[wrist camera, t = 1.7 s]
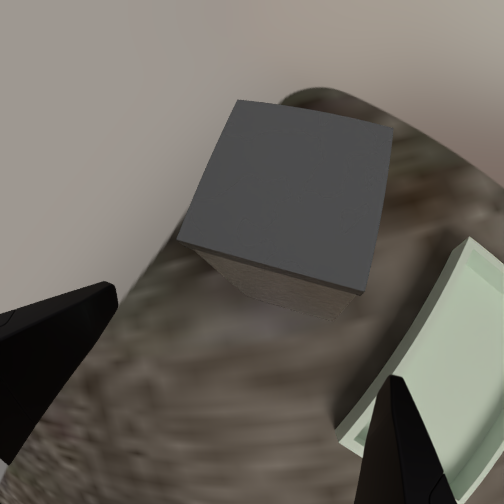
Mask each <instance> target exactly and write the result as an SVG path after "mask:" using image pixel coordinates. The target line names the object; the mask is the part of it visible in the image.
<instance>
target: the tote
mask: <svg viewBox="0 0 504 504" xmlns="http://www.w3.org/2000/svg"><path fill="white" fill-rule="evenodd" d="M390 374H392V375H397V376H401V377H403V379H404V381H405V383H406V385H407V387H408V389H409V391H410V393H411V395H412V398H413V400H414V402H415V404H416V406H417V409H418V411H419V413H420V415H421V417H422V420H423V422H424V424H425V427H426V429H427V431H428V434H429V436H430V438H431V441H432V443H433V445H434V448H435V450H436V453H437V455H438V458H439V460H440V463H441V465H442V468H443V470H444V473H443V474H445V475H446V478H447V480H448V483H449V485H450V488H451V490H452V493H453V495H454V498H455V500H456V502H457V504H464V503H465V502H466V500H467V499H468V498H469V497H470V496H471V494H472V493H473V492H474V491H475V489H476V488H477V487H478V486H479V484H480V483H481V482H482V480H483V479H484V478H485V476H486V475H487V474H488V472H489V471H490V470H491V468H492V467H493V465H494V464H495V462H496V461H497V460H498V458H499V457H500V455H501V454H502V452H503V451H504V264H503V263H502V262H500V261H499V260H498V259H497V258H496V257H495V256H493V255H492V254H491V253H490V252H488V251H487V250H486V249H485V248H484V247H482V246H481V245H480V244H479V243H477V242H476V241H475V240H473V239H472V238H471V237H470V236H469V237H468V238H467V239H466V240H464V241H463V242H462V243H461V244H460V245H458V246H457V247H456V248H455V249H453V250H452V252H451V254H450V256H449V258H448V260H447V262H446V264H445V266H444V268H443V270H442V272H441V274H440V276H439V278H438V280H437V281H436V283H435V285H434V287H433V289H432V291H431V292H430V294H429V296H428V298H427V299H426V301H425V303H424V305H423V306H422V308H421V310H420V312H419V313H418V315H417V317H416V318H415V320H414V322H413V323H412V325H411V326H410V328H409V330H408V331H407V333H406V334H405V336H404V337H403V339H402V341H401V342H400V344H399V345H398V347H397V348H396V350H395V351H394V353H393V354H392V356H391V357H390V359H389V360H388V362H387V363H386V364H385V366H384V367H383V369H382V370H381V372H380V373H379V374H378V376H377V377H376V378H375V380H374V381H373V383H372V384H371V385H370V387H369V388H368V389H367V391H366V392H365V393H364V395H363V396H362V397H361V398H360V400H359V401H358V402H357V404H356V405H355V406H354V407H353V409H352V410H351V411H350V412H349V414H348V415H347V416H346V417H345V418H344V420H343V421H342V422H341V423H340V424H339V426H338V427H337V428H336V429H335V433H336V436H337V439H338V442H339V443H340V444H342V445H343V446H345V447H346V448H348V449H349V450H351V451H353V452H354V453H356V454H357V455H359V456H360V457H362V458H363V452H364V446H365V441H366V437H367V433H368V429H369V425H370V422H371V417H372V413H373V409H374V405H375V400H376V396H377V394H378V391H379V390H380V388H381V386H382V385H383V383H384V382H385V380H386V378H387V377H388V376H389V375H390Z"/></svg>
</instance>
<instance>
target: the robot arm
mask: <svg viewBox="0 0 504 504" xmlns="http://www.w3.org/2000/svg"><path fill="white" fill-rule="evenodd" d="M117 308H118V299H117V293H116V288H115V286H114V285H113V284H111V283H108V282H106V281H103V282H100V283H96V284H93V285H90V286H87V287H83V288H80V289H77V290H74V291H71V292H68V293H64V294H61V295H58V296H55V297H52V298H49V299H46V300H43V301H39V302H36V303H33V304H30V305H27V306H24V307H21V308H17V309H15V310H11V311H8V312H5V313H2V314H0V459H2V460H3V461H4V462H5V463H6V464H7V465H10V464H11V463H12V461H13V460H14V458H15V457H16V455H17V453H18V452H19V450H20V449H21V447H22V446H23V444H24V443H25V441H26V440H27V438H28V437H29V435H30V434H31V432H32V431H33V429H34V428H35V425H37V423H38V422H39V420H40V419H41V417H42V416H43V414H44V413H45V412H46V410H47V409H48V407H49V406H50V404H51V403H52V402H53V400H54V399H55V397H56V396H57V395H58V393H59V392H60V390H61V389H62V388H63V386H64V385H65V384H66V382H67V381H68V380H69V378H70V377H71V375H72V374H73V373H74V371H75V370H76V369H77V367H78V366H79V365H80V363H81V362H82V361H83V359H84V358H85V357H86V355H87V354H88V353H89V352H90V350H91V349H92V348H93V346H94V345H95V344H96V342H97V341H98V339H99V338H100V336H101V334H102V333H103V331H104V329H105V328H106V326H107V325H108V323H109V322H110V320H111V318H112V317H113V315H114V314H115V312H116V310H117ZM443 473H444V470H443V468H442V465H441V463H440V460H439V458H438V455H437V453H436V450H435V448H434V445H433V443H432V441H431V438H430V436H429V434H428V431H427V429H426V427H425V424H424V422H423V420H422V417H421V415H420V413H419V411H418V409H417V406H416V404H415V402H414V400H413V398H412V395H411V393H410V391H409V389H408V387H407V385H406V383H405V381H404V379H403V377H401V376H397V375H392V374H390V375H389V376H388V377H387V378H386V380H385V382H384V383H383V385H382V386H381V388H380V390H379V391H378V394H377V396H376V400H375V405H374V409H373V413H372V417H371V422H370V425H369V429H368V433H367V437H366V441H365V446H364V452H363V458H362V464H361V470H360V476H359V481H358V486H357V491H356V496H355V501H354V504H457V502H456V500H455V498H454V495H453V493H452V490H451V488H450V485H449V483H448V480H447V478H446V475H445V474H443ZM0 504H1V503H0Z"/></svg>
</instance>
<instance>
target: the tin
mask: <svg viewBox="0 0 504 504" xmlns="http://www.w3.org/2000/svg"><path fill="white" fill-rule="evenodd" d="M392 137H393V128H390V127H387V126H383V125H379V124H375V123H371V122H367V121H363V120H358V119H354V118H349V117H345V116H340V115H335V114H330V113H325V112H320V111H315V110H309V109H303V108H297V107H291V106H284V105H278V104H270V103H263V102H254V101H244V100H237V102H236V104H235V106H234V108H233V110H232V112H231V114H230V116H229V118H228V121H227V123H226V125H225V127H224V129H223V131H222V134H221V136H220V138H219V140H218V142H217V144H216V147H215V149H214V151H213V153H212V155H211V158H210V160H209V162H208V164H207V167H206V169H205V171H204V173H203V176H202V178H201V181H200V183H199V185H198V187H197V190H196V193H195V195H194V197H193V199H192V202H191V204H190V207H189V209H188V211H187V214H186V216H185V219H184V221H183V224H182V226H181V229H180V231H179V234H178V236H177V239H176V240H177V241H179V242H180V243H181V244H182V245H183V246H184V247H187V248H190V249H193V250H194V251H196V252H197V253H198V254H199V255H200V256H201V257H202V258H203V259H204V260H206V261H207V262H208V263H209V264H210V265H211V266H212V267H213V268H215V269H216V270H217V271H218V272H219V273H220V274H221V275H223V276H224V277H225V278H226V279H227V280H228V281H229V282H231V283H232V284H233V285H234V286H235V287H236V288H237V289H239V290H240V291H241V292H242V293H243V294H244V295H245V296H247V297H249V298H252V299H256V300H259V301H262V302H266V303H269V304H272V305H276V306H279V307H283V308H286V309H289V310H293V311H296V312H300V313H303V314H307V315H310V316H314V317H317V318H321V319H325V320H328V321H332V322H333V321H334V320H335V319H336V318H337V316H338V315H339V314H340V313H341V312H342V311H343V310H344V308H345V307H346V306H347V305H348V304H349V303H350V302H351V300H352V299H353V298H354V297H355V296H356V295H359V296H361V295H362V294H363V293H364V292H365V288H366V284H367V280H368V276H369V272H370V267H371V263H372V258H373V254H374V249H375V244H376V239H377V234H378V229H379V224H380V219H381V213H382V207H383V202H384V196H385V189H386V183H387V176H388V169H389V162H390V154H391V146H392Z"/></svg>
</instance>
